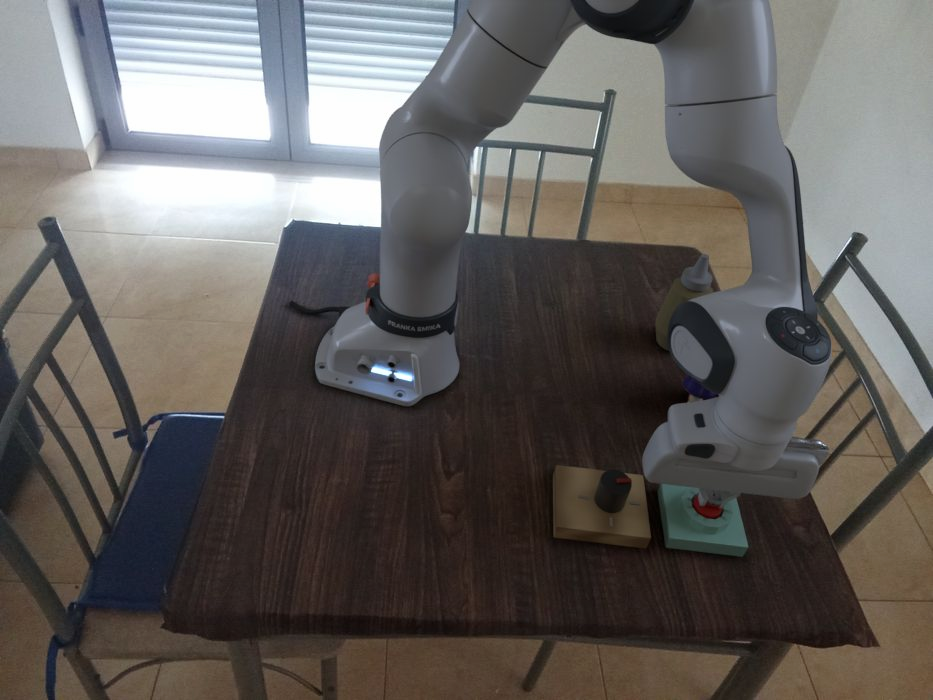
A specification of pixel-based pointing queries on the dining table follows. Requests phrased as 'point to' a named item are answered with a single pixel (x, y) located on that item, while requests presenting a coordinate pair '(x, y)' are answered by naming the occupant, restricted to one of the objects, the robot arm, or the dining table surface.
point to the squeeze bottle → (683, 295)
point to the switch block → (699, 524)
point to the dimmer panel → (597, 510)
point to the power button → (706, 510)
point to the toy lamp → (696, 390)
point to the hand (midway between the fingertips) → (709, 503)
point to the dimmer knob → (612, 491)
